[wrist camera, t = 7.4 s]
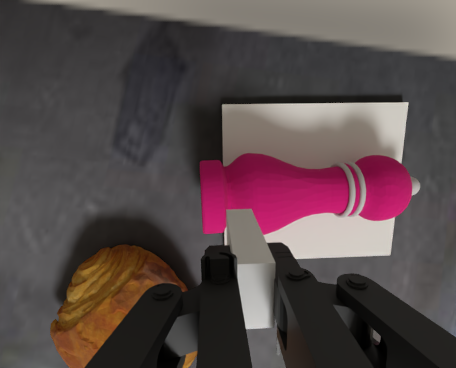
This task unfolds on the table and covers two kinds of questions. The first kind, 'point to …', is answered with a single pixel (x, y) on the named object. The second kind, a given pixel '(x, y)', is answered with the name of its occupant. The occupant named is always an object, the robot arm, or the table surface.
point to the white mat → (320, 163)
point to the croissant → (106, 299)
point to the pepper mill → (302, 190)
